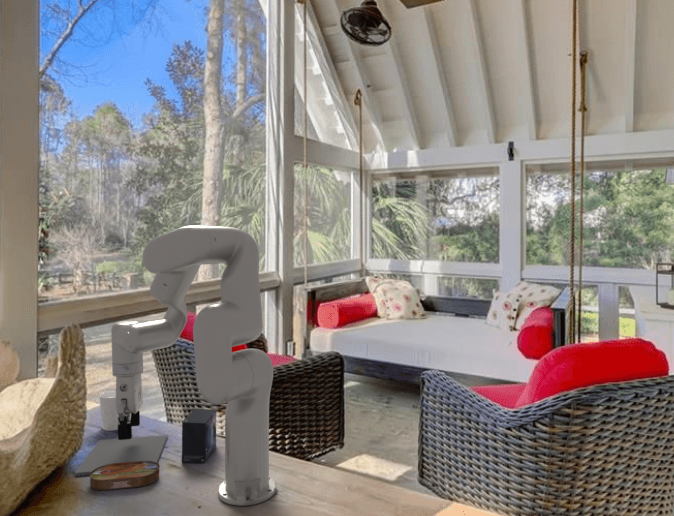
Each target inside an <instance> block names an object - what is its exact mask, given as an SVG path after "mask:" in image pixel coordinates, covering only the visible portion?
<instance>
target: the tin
mask: <svg viewBox="0 0 674 516" xmlns="http://www.w3.org/2000/svg"><path fill="white" fill-rule="evenodd" d="M160 466H161V465H160V464H159V462H158V463H157V462H154V461H137V462H124V463H112V464H107V465H103V466H100V467H98V468H96V469H94V470H93V471H92V472H91V473H90V475H89V479H90V481H89V483H90V487H91V488H92V489H94V490H97V491H111V490H123V489H131V488H132V489H133V488H141V487H145V486H148V485H151V484H153V483H154V482H156V481H157V480H158V478H159V476H160Z"/></svg>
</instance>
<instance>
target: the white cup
mask: <svg viewBox="0 0 674 516" xmlns="http://www.w3.org/2000/svg"><path fill="white" fill-rule="evenodd" d="M99 406H100V409H99V411H100V419H101V428H102V430H103V431H105V432H107V431H109V432H113V431H118V417H119V415H118V414H117V412H116V389H115V390H108V391H105V392H102V393H100V395H99ZM125 416H126V417H127V415H125Z"/></svg>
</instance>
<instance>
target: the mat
mask: <svg viewBox="0 0 674 516" xmlns="http://www.w3.org/2000/svg"><path fill="white" fill-rule="evenodd" d="M168 438H169V437H168V434H167V435H166V434H165V435H164V434H163V435H153V436H137V437H136V436H135V437H132V438H131V439H126V440H118V438H105V439H99V440H98V442H97V443H95V446H94V447H93V448H92V449H91V450H90V452H89V454H88V455H87V456H86V457H85V458H84V460H83V461H82V463H81V464H80V466H79V467H78V468H77V470H76V471H75V472H74V476H75V477H80V475H81V477H83V476H90V473H91V472H92V471H93V470H94V469H96V468H98V467H100V466H103V465H107V464H112V463H124V462H137V461H154V462H157V463H158V464H159V461H160V459H159V458H161V456H162V453H163V450H164V447H165V446H166V443H167V441H168Z"/></svg>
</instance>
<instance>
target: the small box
mask: <svg viewBox="0 0 674 516" xmlns="http://www.w3.org/2000/svg"><path fill="white" fill-rule="evenodd" d="M216 447H217V409H211V408H210V409H209V408H208V409H205V408H194V409H193V410H192V411H191V412H190V413H189V414H188V415H187V416H186V418H185V419H183V421H182V422H181V463H186V464H187V463H190V464H191V463H192V464H193V463H194V464H206V463H207V461H208V459H209V457H210V456H211V455H212V453H213V452H214V451H215V449H216ZM213 450H214V451H213Z"/></svg>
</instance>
